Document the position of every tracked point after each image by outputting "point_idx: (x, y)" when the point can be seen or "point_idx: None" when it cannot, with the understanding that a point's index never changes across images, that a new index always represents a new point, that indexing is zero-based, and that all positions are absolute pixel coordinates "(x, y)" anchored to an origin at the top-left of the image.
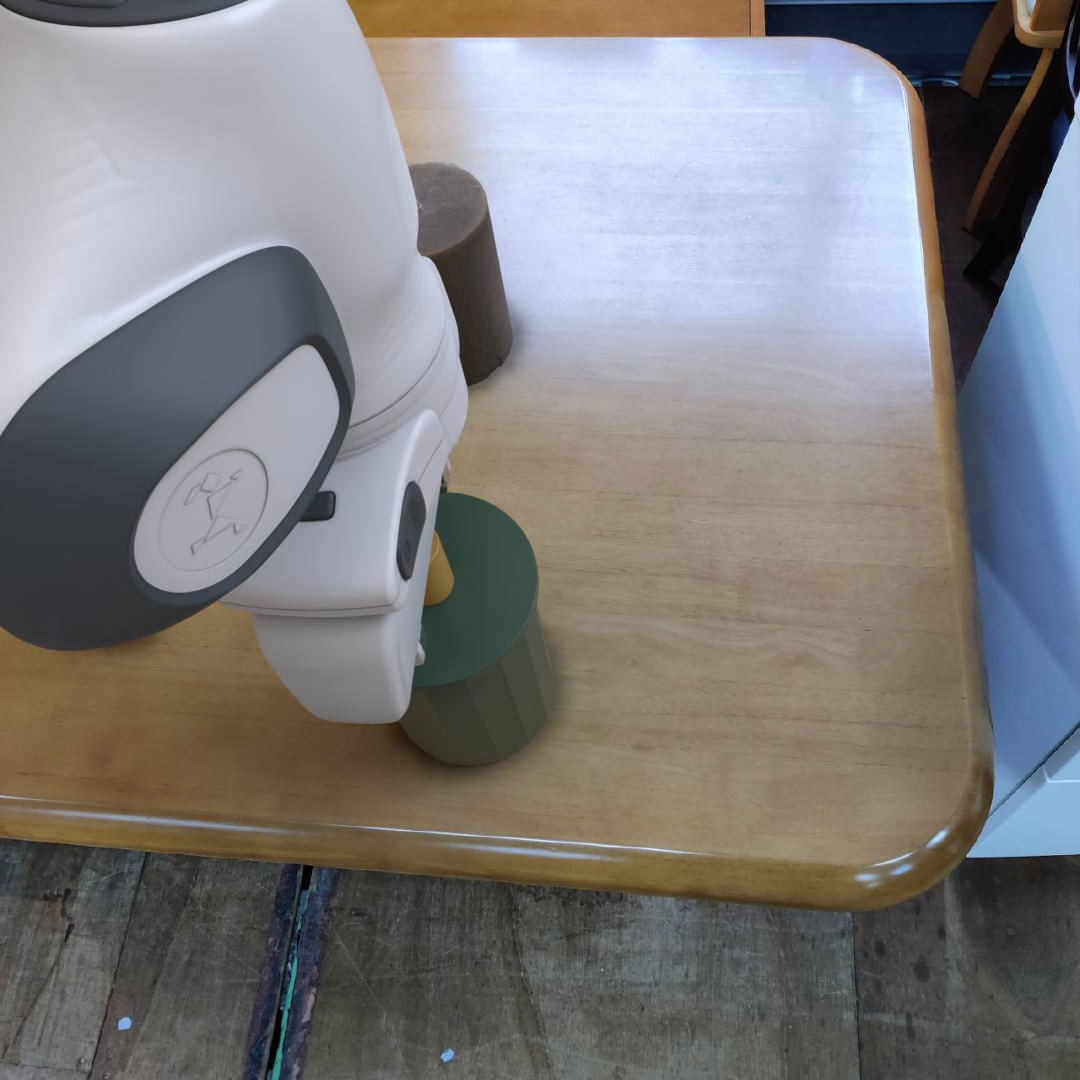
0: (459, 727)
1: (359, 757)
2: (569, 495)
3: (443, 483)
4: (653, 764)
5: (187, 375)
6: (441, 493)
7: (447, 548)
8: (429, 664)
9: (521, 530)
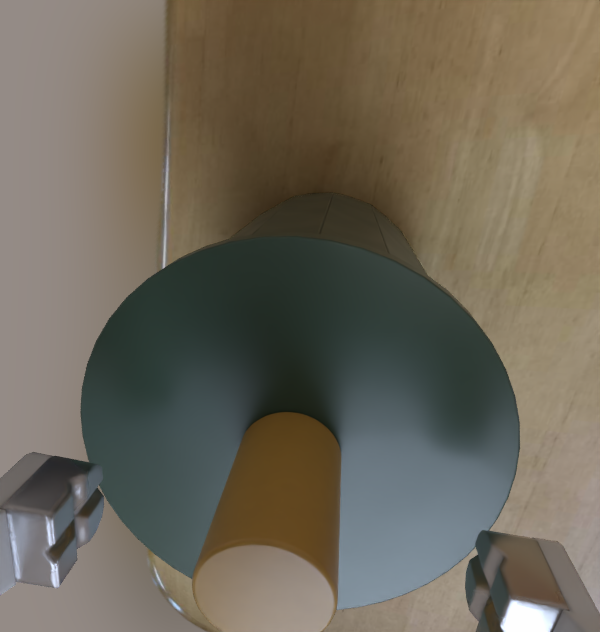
0: None
1: (248, 144)
2: (562, 406)
3: (478, 614)
4: None
5: None
6: (467, 568)
7: (366, 489)
8: (122, 447)
9: (383, 600)
